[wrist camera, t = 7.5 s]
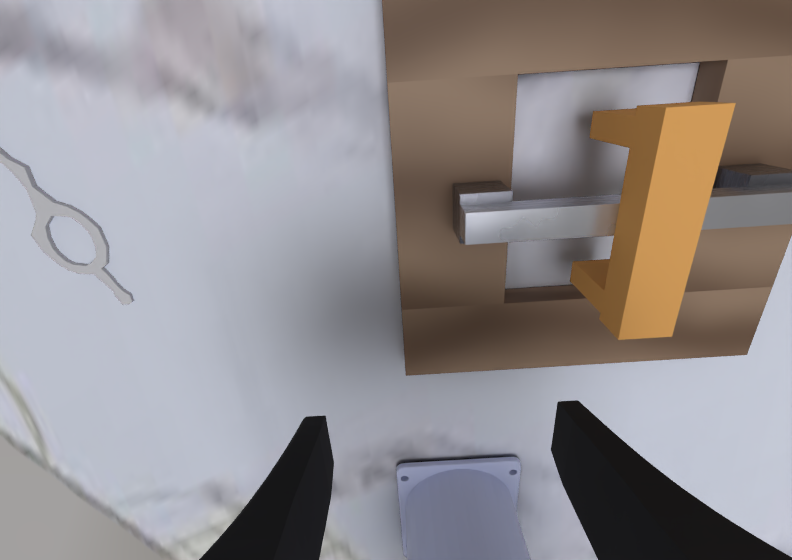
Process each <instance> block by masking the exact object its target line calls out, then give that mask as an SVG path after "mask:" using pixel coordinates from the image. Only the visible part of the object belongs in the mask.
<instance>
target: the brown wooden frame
mask: <svg viewBox="0 0 792 560" xmlns="http://www.w3.org/2000/svg"><path fill="white" fill-rule="evenodd" d="M382 7H383V23H384V38H385V54H386V70H387V86H388V102H389V117H390V133H391V149H392V165H393V181H394V196H395V212H396V228H397V244H398V259H399V275H400V291H401V307H402V323H403V338H404V354H405V370H406V376H407V375H423V374H439V373H456V372H472V371H489V370H505V369H521V368H538V367H554V366H571V365H587V364H603V363H620V362H636V361H653V360H669V359H685V358H702V357H718V356H735V355H747V353H748V350H749V348H750V345H751V342H752V340H753V337H754V334H755V332H756V329H757V326H758V324H759V321H760V318H761V316H762V313H763V310H764V308H765V305H766V302H767V300H768V297H769V294H770V292H771V289H772V286H773V284H774V281H775V278H776V276H777V273H778V270H779V268H780V265H781V262H782V260H783V257H784V254H785V252H786V249H787V246H788V244H789V241H790V238H791V236H792V224H784V225H768V226H753V227H737V228H722V229H706V230H701V232H700V236H699V240H698V243H697V247H696V251H695V254H694V258H693V262H692V265H691V269H690V273H689V276H688V280H687V284H686V287H685V291H684V295H683V298H682V302H681V306H680V309H679V313H678V316H677V320H676V324H675V327H674V331H673V335H672V337H658V338H642V339H625V340H618V339H617V338H616V337H615V336H614V335H613V334H612V333H611V332H610V330H609V329H608V328H607V327H606V326H605V325H604V324H603V323H602V322H601V321H600V320H599V318H600V312H599V311H598V310H597V309H596V308H595V307H594V306H593V305H592V304H591V303H590V302H589V300H588V299H587V298H586V297H585V296H584V295H583V294H582V293H581V292H580V291H579V290H578V289H577V288H576V287H575V286H574V285H565V286H549V287H533V288H517V289H505V279H506V262H507V245H508V242H503V243H487V244H471V245H465V244H460V243H459V241H458V239H457V237H456V234H455V232H454V230H453V183H466V182H481V181H497V180H500V181H501V182H502V183H504V184H505V185H506V186H507V187H509V188H510V189H511V179H512V162H513V146H514V129H515V112H516V96H517V79H518V75H519V74H534V73H548V72H563V71H578V70H593V69H607V68H622V67H637V66H651V65H666V64H681V63H696V62H701V63H700V67H699V72H698V76H697V80H696V85H695V89H694V93H693V98H692V102H724V103H736V104H735V108H734V111H733V115H732V119H731V122H730V126H729V130H728V133H727V137H726V141H725V144H724V148H723V152H722V155H721V159H720V163H719V166H726V165H741V164H756V163H762V164H767V165H772V166H777V167H782V168H787V169H792V0H382Z"/></svg>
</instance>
